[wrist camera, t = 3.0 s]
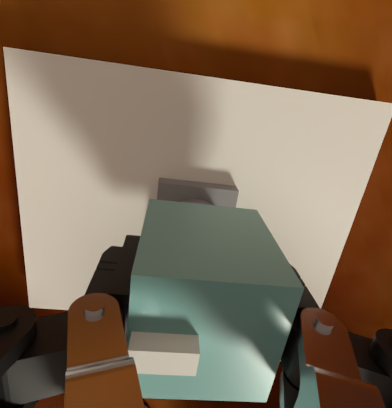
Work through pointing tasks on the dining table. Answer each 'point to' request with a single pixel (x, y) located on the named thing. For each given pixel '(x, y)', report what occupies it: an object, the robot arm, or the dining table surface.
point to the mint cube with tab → (209, 303)
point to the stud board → (177, 162)
